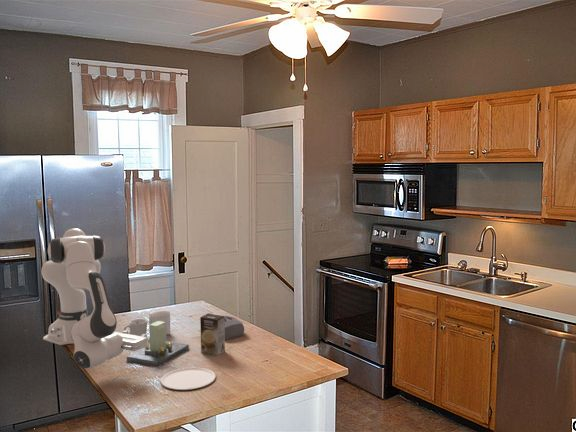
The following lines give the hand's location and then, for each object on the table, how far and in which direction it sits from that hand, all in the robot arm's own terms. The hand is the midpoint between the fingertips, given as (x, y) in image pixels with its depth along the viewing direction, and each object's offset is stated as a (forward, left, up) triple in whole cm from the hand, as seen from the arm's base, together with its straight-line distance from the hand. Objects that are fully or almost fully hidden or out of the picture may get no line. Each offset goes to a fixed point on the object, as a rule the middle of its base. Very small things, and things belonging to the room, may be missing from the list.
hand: (136, 334), depth 216 cm
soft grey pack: (+12, +49, -14) cm, 53 cm away
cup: (-23, +27, -13) cm, 38 cm away
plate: (+28, -4, -14) cm, 31 cm away
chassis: (+1, +13, -13) cm, 19 cm away
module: (+1, +13, -11) cm, 17 cm away
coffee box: (+21, +25, -13) cm, 35 cm away
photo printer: (-15, +35, -13) cm, 41 cm away
